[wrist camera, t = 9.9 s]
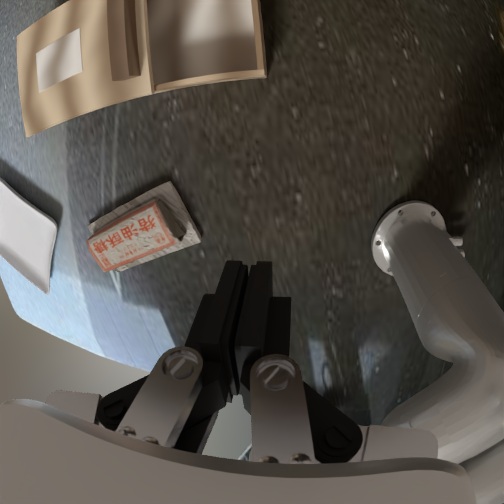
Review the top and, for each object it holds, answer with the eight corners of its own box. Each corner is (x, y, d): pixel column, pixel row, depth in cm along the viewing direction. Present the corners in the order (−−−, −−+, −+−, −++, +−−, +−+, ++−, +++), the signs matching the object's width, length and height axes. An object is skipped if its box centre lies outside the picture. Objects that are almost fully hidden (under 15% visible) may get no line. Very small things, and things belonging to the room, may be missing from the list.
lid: (145, -32, 16) (132, -41, 13) (155, 93, 25) (140, 94, 22) (20, 36, 18) (4, 37, 16) (30, 136, 27) (14, 142, 24)
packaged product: (108, 285, 43) (74, 237, 38) (120, 268, 47) (90, 222, 42) (195, 254, 37) (158, 190, 33) (204, 236, 41) (171, 177, 37)
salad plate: (1, 167, 37) (-10, 173, 34) (67, 217, 42) (56, 226, 39) (-1, 240, 47) (-10, 247, 44) (56, 287, 52) (48, 296, 49)
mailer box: (256, -32, 20) (251, -52, 15) (267, 77, 28) (264, 75, 23) (108, 4, 22) (83, -3, 17) (117, 103, 31) (91, 108, 26)
